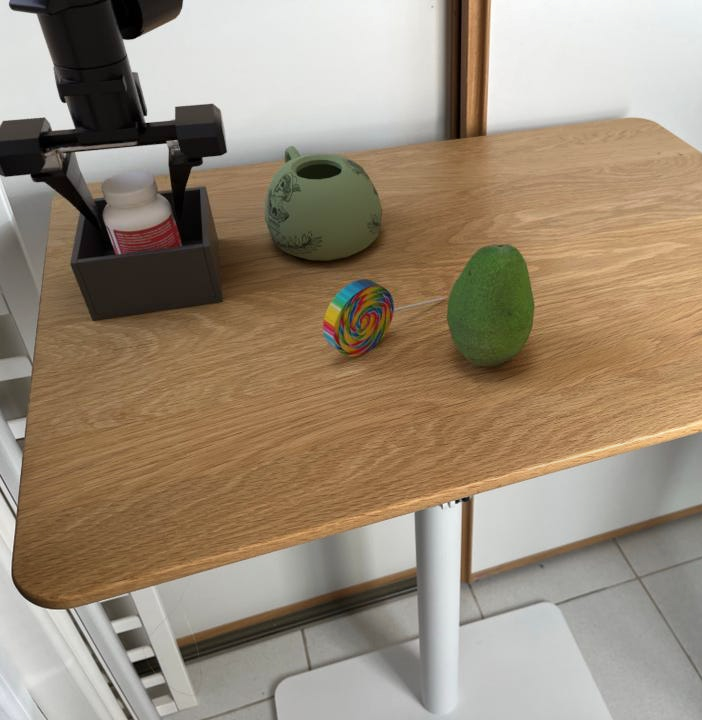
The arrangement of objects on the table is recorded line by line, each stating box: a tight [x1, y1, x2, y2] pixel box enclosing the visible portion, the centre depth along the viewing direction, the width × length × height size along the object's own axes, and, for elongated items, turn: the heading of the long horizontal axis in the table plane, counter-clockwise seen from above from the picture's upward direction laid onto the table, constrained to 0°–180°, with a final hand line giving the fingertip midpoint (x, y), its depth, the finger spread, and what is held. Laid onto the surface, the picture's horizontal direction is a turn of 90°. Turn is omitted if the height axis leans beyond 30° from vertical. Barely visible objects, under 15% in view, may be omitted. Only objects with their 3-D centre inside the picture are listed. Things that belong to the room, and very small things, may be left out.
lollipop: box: [322, 278, 446, 358], centre depth 71 cm, size 7×1×15 cm
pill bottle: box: [100, 170, 182, 255], centre depth 73 cm, size 6×6×11 cm
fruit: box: [446, 243, 535, 368], centre depth 66 cm, size 8×8×12 cm
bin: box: [69, 186, 224, 321], centre depth 76 cm, size 12×12×7 cm
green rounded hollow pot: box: [264, 145, 383, 262], centre depth 83 cm, size 16×13×9 cm
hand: (140, 222), depth 72 cm, fingers open, 7 cm apart
